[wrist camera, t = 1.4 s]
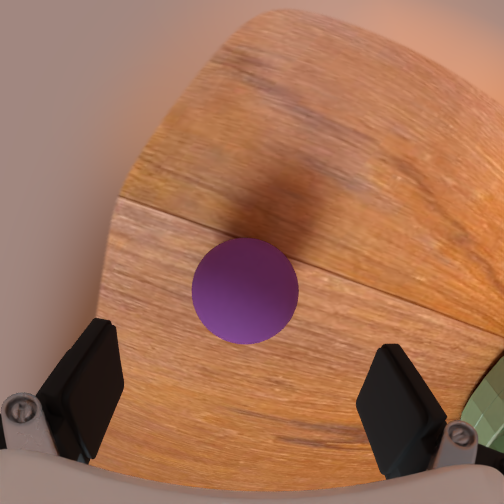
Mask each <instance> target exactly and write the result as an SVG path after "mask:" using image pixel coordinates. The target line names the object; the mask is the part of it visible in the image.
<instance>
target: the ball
mask: <svg viewBox="0 0 504 504" xmlns="http://www.w3.org/2000/svg"><path fill="white" fill-rule="evenodd" d="M298 293H299V290H298V281H297V276H296V273H295V271H294V269H293V267H292V265H291V263H290V262H289V260H288V259H287V257H286V256H285V255H284V254H283V253H282V252H281V251H280V250H278V249H277V248H276V247H274V246H273V245H271V244H269V243H267V242H265V241H262V240H259V239H253V238H236V239H232V240H228V241H225V242H223V243H221V244H219V245H217V246H216V247H214V248H213V249H212V250H211V251H209V252H208V253H207V254H206V255H205V256H204V258H203V259H202V260H201V262H200V263H199V265H198V267H197V269H196V271H195V274H194V278H193V282H192V300H193V305H194V308H195V310H196V313H197V315H198V317H199V319H200V320H201V321H202V323H203V324H204V325H205V326H206V328H207V329H208V330H209V331H211V332H212V333H213V334H215V335H216V336H218V337H219V338H221V339H223V340H226V341H229V342H232V343H237V344H254V343H259V342H262V341H265V340H267V339H269V338H271V337H273V336H274V335H276V334H277V333H279V332H280V331H281V330H282V329H283V328H284V327H285V326H286V325H287V323H288V322H289V321H290V319H291V317H292V316H293V313H294V311H295V309H296V306H297V302H298Z"/></svg>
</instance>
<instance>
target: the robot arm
mask: <svg viewBox="0 0 504 504" xmlns="http://www.w3.org/2000/svg"><path fill="white" fill-rule="evenodd" d="M123 389H124V379H123V373H122V367H121V361H120V354H119V347H118V340H117V332H116V327H115V326H114V325H112V323H111V321H110V320H105V319H99V318H94V319H93V320H92V322H91V323H90V324H89V325H88V327H87V328H86V329H85V331H84V332H83V333H82V334H81V336H80V337H79V338H78V340H77V341H76V342H75V344H74V345H73V346H72V348H71V349H69V350H68V351H67V352H66V354H65V355H64V356H63V358H62V359H61V360H60V362H59V363H58V364H57V366H56V367H55V369H54V370H53V371H52V373H51V374H50V376H49V377H48V378H47V380H46V381H45V383H44V384H43V385H42V387H41V388H40V390H39V391H38V393H37V394H36V396H34V395H32V394H29V393H16V394H13V395H11V396H10V397H8V398H7V399H6V400H5V401H4V402H3V404H2V407H1V414H0V504H504V453H502V452H499V451H497V450H494V449H491V448H489V447H486V446H484V445H481V444H479V443H478V434H477V431H476V430H475V429H474V427H473V426H471V425H470V424H469V423H467V422H465V421H461V420H454V421H451V422H449V423H448V424H447V423H446V421H445V420H446V418H447V415H446V414H445V412H444V411H443V409H442V408H441V406H440V404H439V403H438V401H437V400H436V398H435V397H434V395H433V394H432V392H431V391H430V389H429V387H428V386H427V384H426V383H425V381H424V380H423V378H422V377H421V375H420V374H419V372H418V371H417V370H416V368H415V367H414V365H413V364H412V362H411V361H410V359H409V358H408V356H407V355H406V354H405V352H404V351H403V349H402V348H401V346H400V345H399V344H383V345H382V347H381V348H379V349H378V350H377V352H376V354H375V357H374V360H373V362H372V365H371V367H370V370H369V372H368V374H367V377H366V379H365V382H364V384H363V386H362V388H361V391H360V393H359V395H358V398H357V400H356V408H357V411H358V413H359V416H360V418H361V421H362V424H363V426H364V429H365V432H366V434H367V437H368V440H369V442H370V445H371V448H372V451H373V453H374V456H375V459H376V462H377V464H378V467H379V470H380V472H381V474H383V475H385V477H386V480H383V481H378V482H372V483H367V484H360V485H354V486H346V487H338V488H329V489H318V490H304V491H278V492H258V491H232V490H218V489H207V488H198V487H189V486H182V485H175V484H169V483H163V482H157V481H152V480H147V479H142V478H138V477H133V476H129V475H125V474H120V473H116V472H112V471H108V470H105V469H101V468H97V467H94V466H91V465H88V464H89V461H90V459H95V457H96V455H97V453H98V450H99V447H100V445H101V442H102V440H103V437H104V435H105V432H106V430H107V427H108V425H109V423H110V420H111V418H112V415H113V413H114V411H115V408H116V406H117V403H118V401H119V399H120V396H121V394H122V392H123Z"/></svg>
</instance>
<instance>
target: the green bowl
mask: <svg viewBox="0 0 504 504" xmlns="http://www.w3.org/2000/svg"><path fill="white" fill-rule="evenodd" d="M460 420H461V421H465V422H467V423H469V424H470V425H471V426H473V427H474V429H475V430H476V431H477V434H478V443H479V444H481V445H484V446H486V447H489V448H491V449H494V450H497V451H499V452H502V453H504V356H503V357H502V358H501V359H500V360H499V361H498V362H497V364H496V365H495V366H494V367H493V368H492V369H491V371H490V372H489V373H488V374H487V375H486V376H485V378H484V379H483V380H482V382H481V383H480V385H479V386H478V387H477V389H476V390H475V392H474V393H473V394H472V396H471V397H470V399H469V401H468V403H467V405H466V406H465V408H464V410H463V412H462V415H461V419H460Z"/></svg>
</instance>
